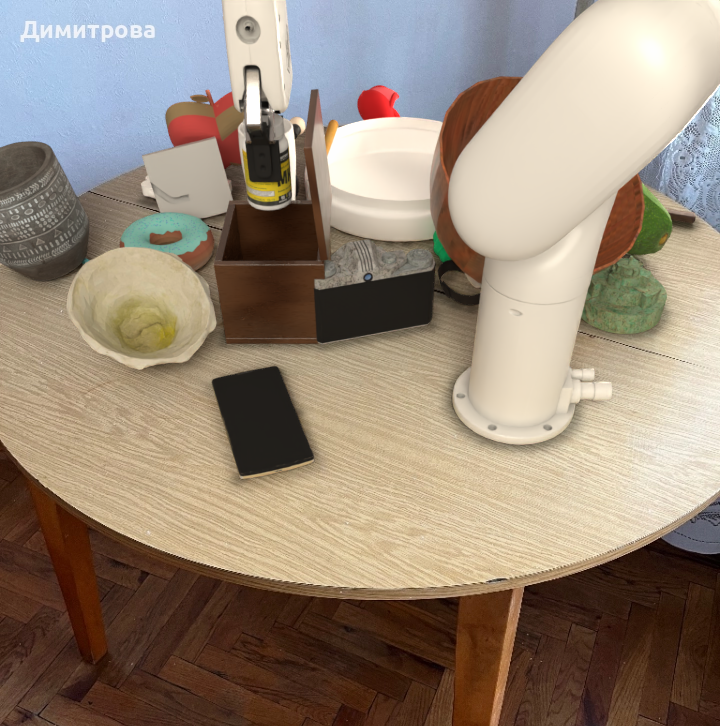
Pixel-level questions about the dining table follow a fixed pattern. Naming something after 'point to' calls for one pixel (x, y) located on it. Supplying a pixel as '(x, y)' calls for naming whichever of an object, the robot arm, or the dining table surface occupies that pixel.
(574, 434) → the dining table surface
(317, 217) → the lid
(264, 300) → the chest
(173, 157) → the grey square panel
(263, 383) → the smartphone
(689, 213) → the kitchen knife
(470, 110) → the bowl
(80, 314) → the bowl
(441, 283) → the watch
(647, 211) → the fruit
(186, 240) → the donut
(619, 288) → the decorative artifact
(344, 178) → the plate
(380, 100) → the cap
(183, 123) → the decorative object
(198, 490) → the dining table surface
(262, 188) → the supplement bottle
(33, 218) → the planter
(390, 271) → the camera
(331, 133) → the fork
